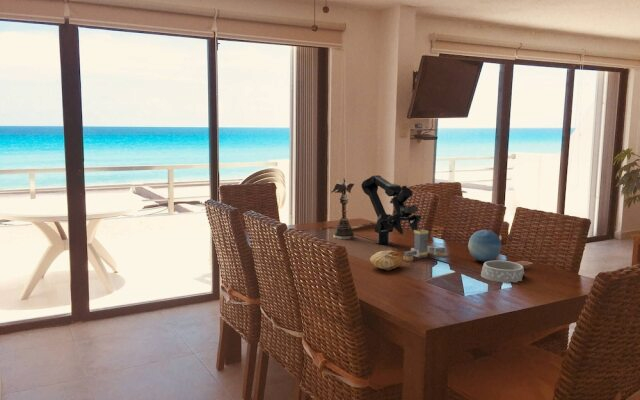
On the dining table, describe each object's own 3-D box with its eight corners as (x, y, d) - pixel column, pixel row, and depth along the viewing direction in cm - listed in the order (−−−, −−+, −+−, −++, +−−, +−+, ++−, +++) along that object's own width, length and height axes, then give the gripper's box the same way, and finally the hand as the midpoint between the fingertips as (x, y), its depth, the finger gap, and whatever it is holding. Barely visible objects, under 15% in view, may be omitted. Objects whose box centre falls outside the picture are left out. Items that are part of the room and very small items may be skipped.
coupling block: (413, 255, 271) (413, 229, 269) (421, 254, 273) (422, 229, 271) (419, 258, 266) (420, 231, 264) (427, 257, 268) (428, 230, 267)
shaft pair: (400, 258, 265) (400, 249, 264) (439, 253, 275) (439, 244, 274) (407, 261, 260) (407, 251, 259) (446, 256, 270) (447, 246, 269)
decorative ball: (464, 262, 257) (465, 231, 255) (471, 256, 270) (472, 226, 268) (497, 266, 250) (499, 234, 248) (503, 259, 264) (504, 228, 261)
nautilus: (407, 264, 258) (420, 274, 243) (364, 263, 253) (374, 273, 238) (409, 247, 256) (422, 256, 242) (365, 247, 251) (376, 256, 237)
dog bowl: (527, 274, 238) (528, 262, 238) (519, 285, 223) (520, 272, 222) (487, 269, 247) (488, 257, 246) (476, 279, 231) (477, 266, 231)
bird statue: (327, 234, 323) (327, 174, 319) (348, 233, 326) (349, 174, 321) (333, 239, 307) (333, 177, 302) (355, 238, 310) (356, 177, 305)
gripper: (394, 198, 271) (404, 226, 265) (422, 199, 281) (433, 226, 275) (382, 209, 279) (391, 237, 273) (409, 210, 289) (419, 236, 283)
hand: (409, 234), depth 275 cm, fingers open, 9 cm apart
